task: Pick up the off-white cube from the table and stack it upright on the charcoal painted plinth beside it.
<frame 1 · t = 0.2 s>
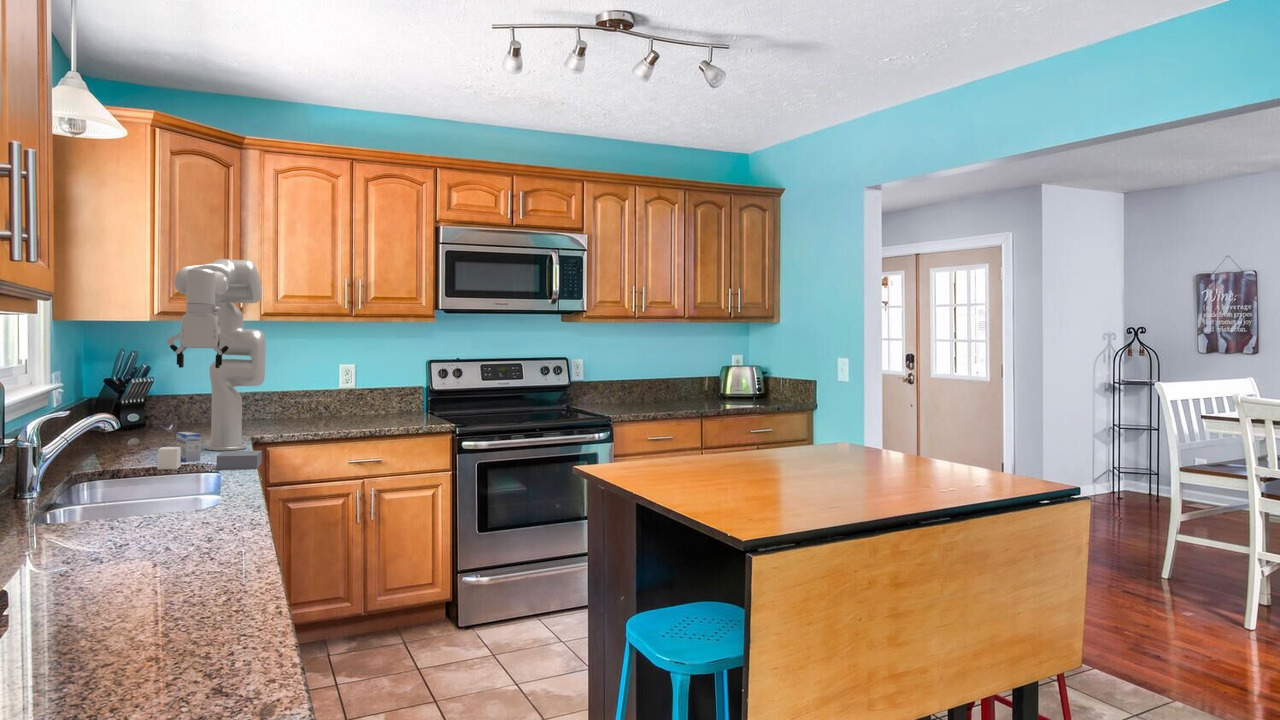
hand: (199, 367, 234), 30 cm above the countertop, tool pointing down, fingers open, 9 cm apart
plinth: (239, 466, 241), on the countertop
medicine box: (188, 460, 251), on the countertop
cube: (169, 468, 235), on the countertop
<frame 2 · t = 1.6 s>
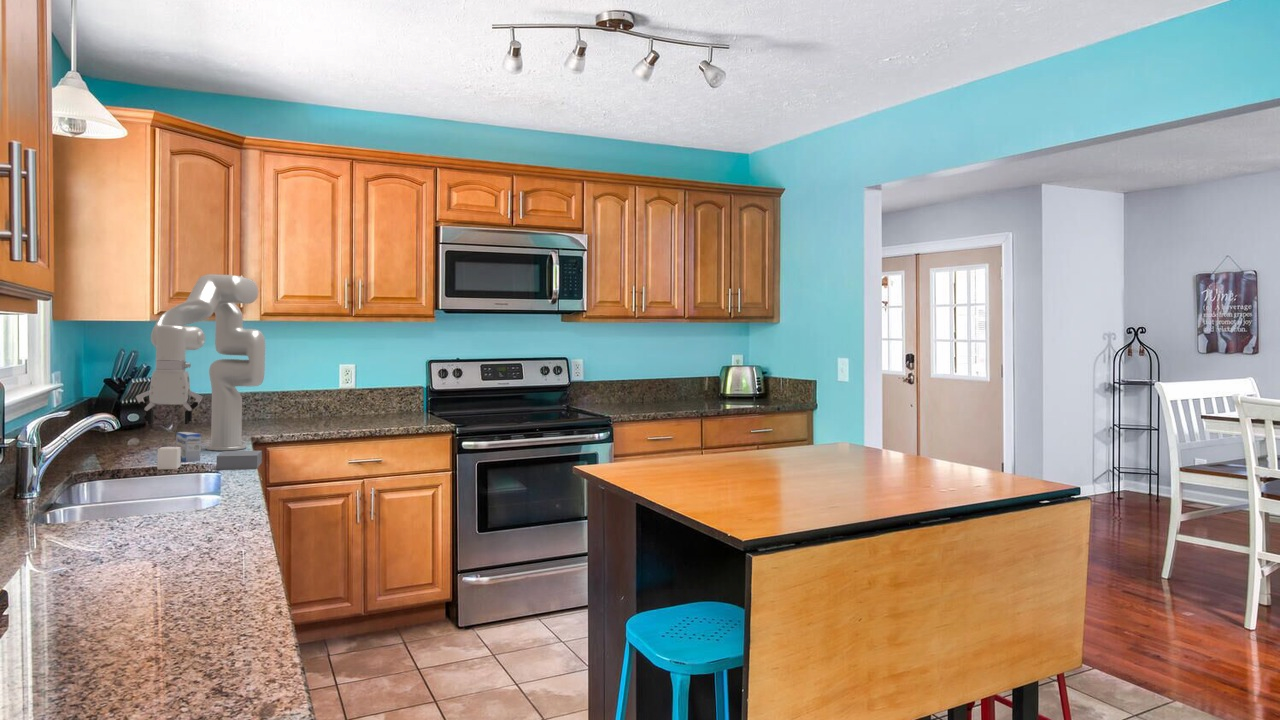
hand: (168, 423, 234), 13 cm above the countertop, tool pointing down, fingers open, 9 cm apart
nothing on the countertop moved.
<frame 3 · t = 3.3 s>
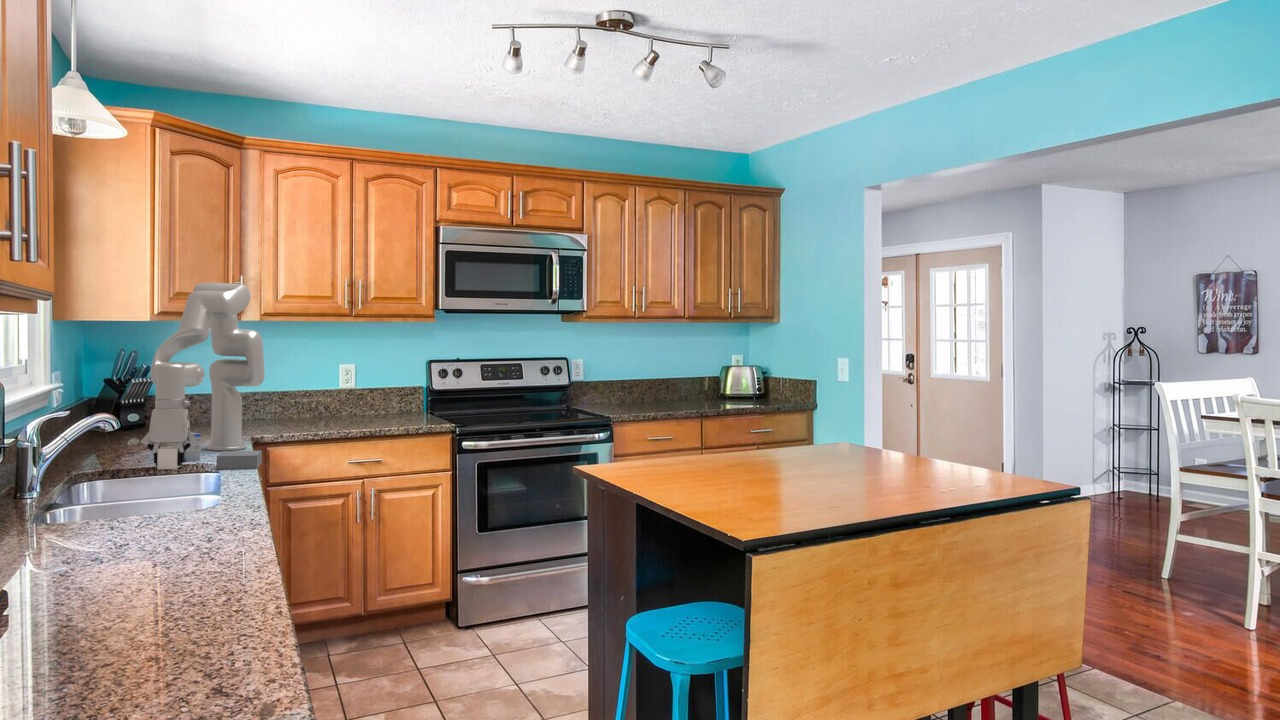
hand: (169, 464, 235), 1 cm above the countertop, tool pointing down, fingers closed on cube, 5 cm apart
cube: (169, 467, 235), on the countertop, touching gripper
everything else where it was.
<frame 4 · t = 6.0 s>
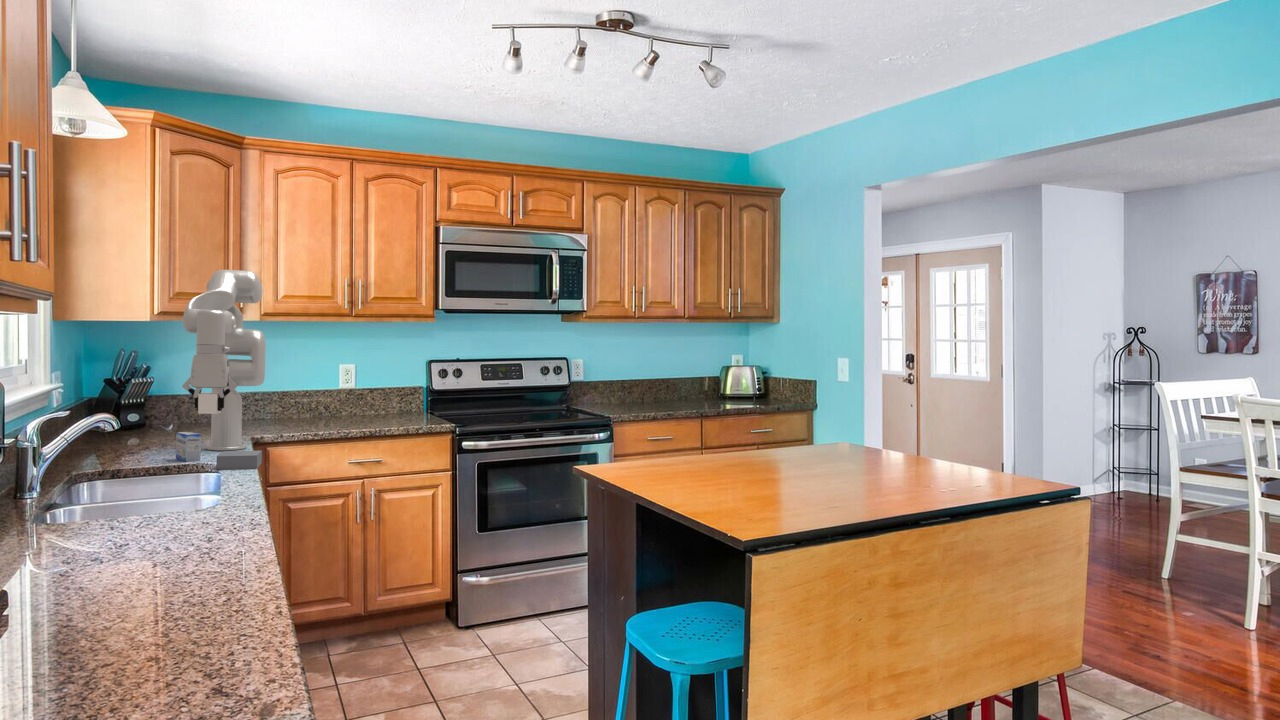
hand: (209, 410, 238), 17 cm above the countertop, tool pointing down, fingers closed on cube, 5 cm apart
cube: (209, 413, 238), point 16 cm above the countertop, touching gripper
everything else where it was.
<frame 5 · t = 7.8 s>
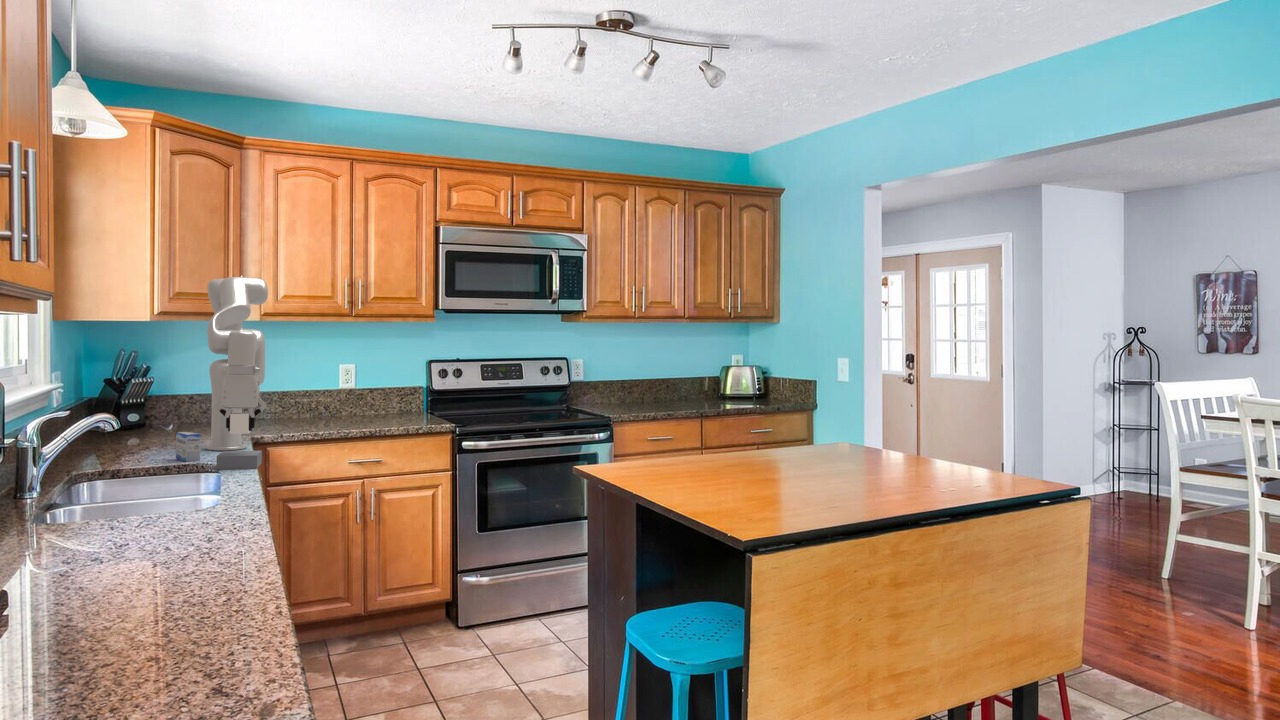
hand: (240, 429, 241), 11 cm above the countertop, tool pointing down, fingers closed on cube, 5 cm apart
cube: (240, 432, 241), point 10 cm above the countertop, touching gripper
everything else where it was.
when the fingers open (6 cm above the countertop, at t = 9.1 s): cube drops 1 cm, resting on plinth.
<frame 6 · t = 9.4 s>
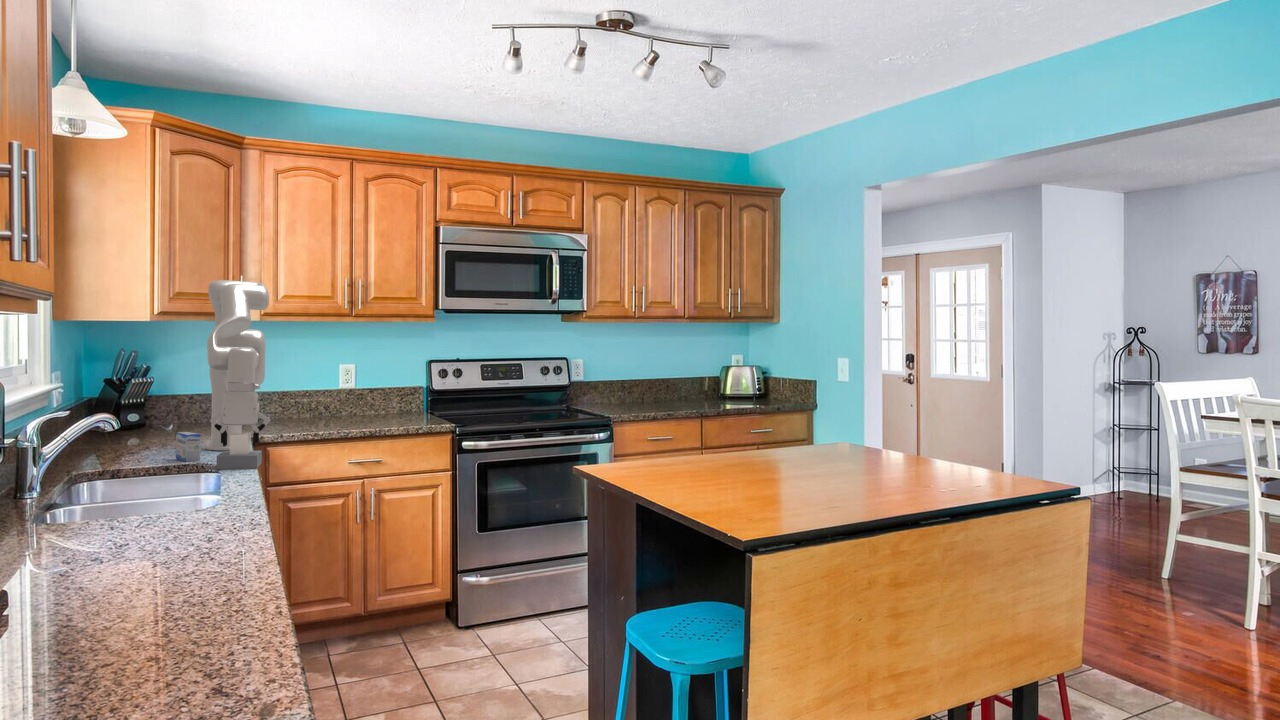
hand: (240, 445, 241), 7 cm above the countertop, tool pointing down, fingers open, 7 cm apart
cube: (240, 453, 241), point 4 cm above the countertop, touching plinth
everything else where it was.
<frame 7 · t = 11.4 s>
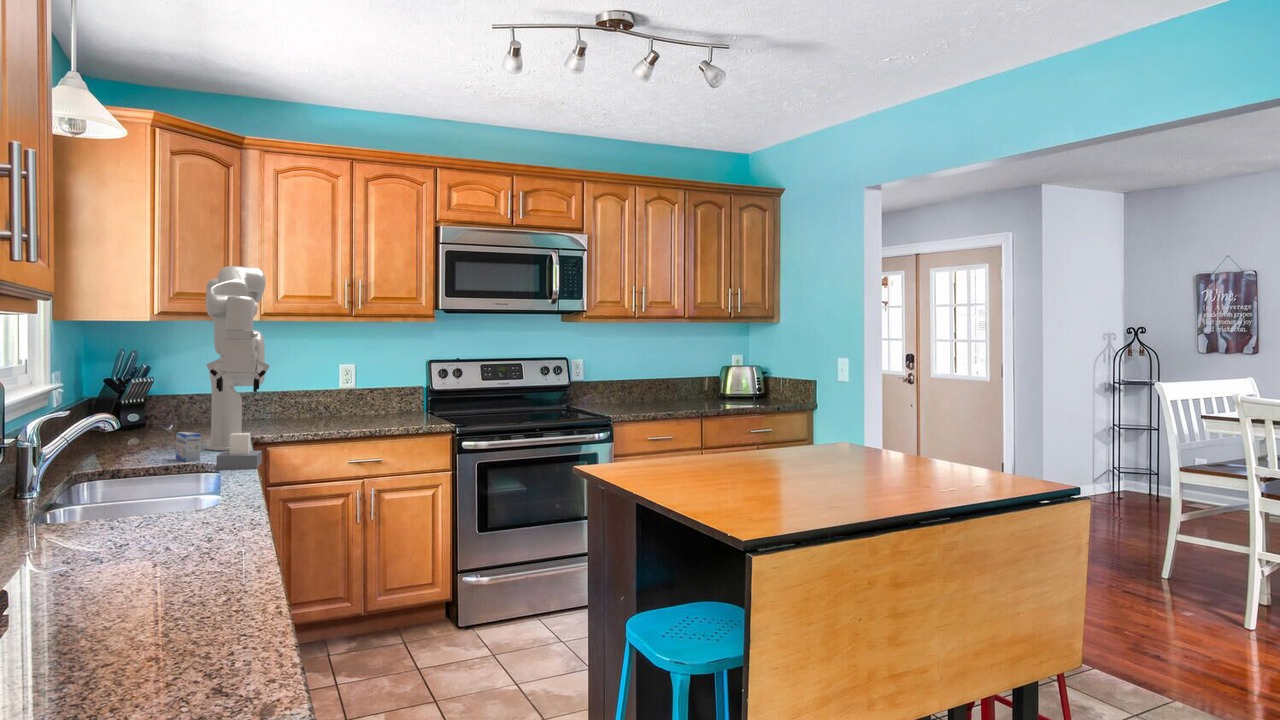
hand: (238, 391, 243), 23 cm above the countertop, tool pointing down, fingers open, 9 cm apart
nothing on the countertop moved.
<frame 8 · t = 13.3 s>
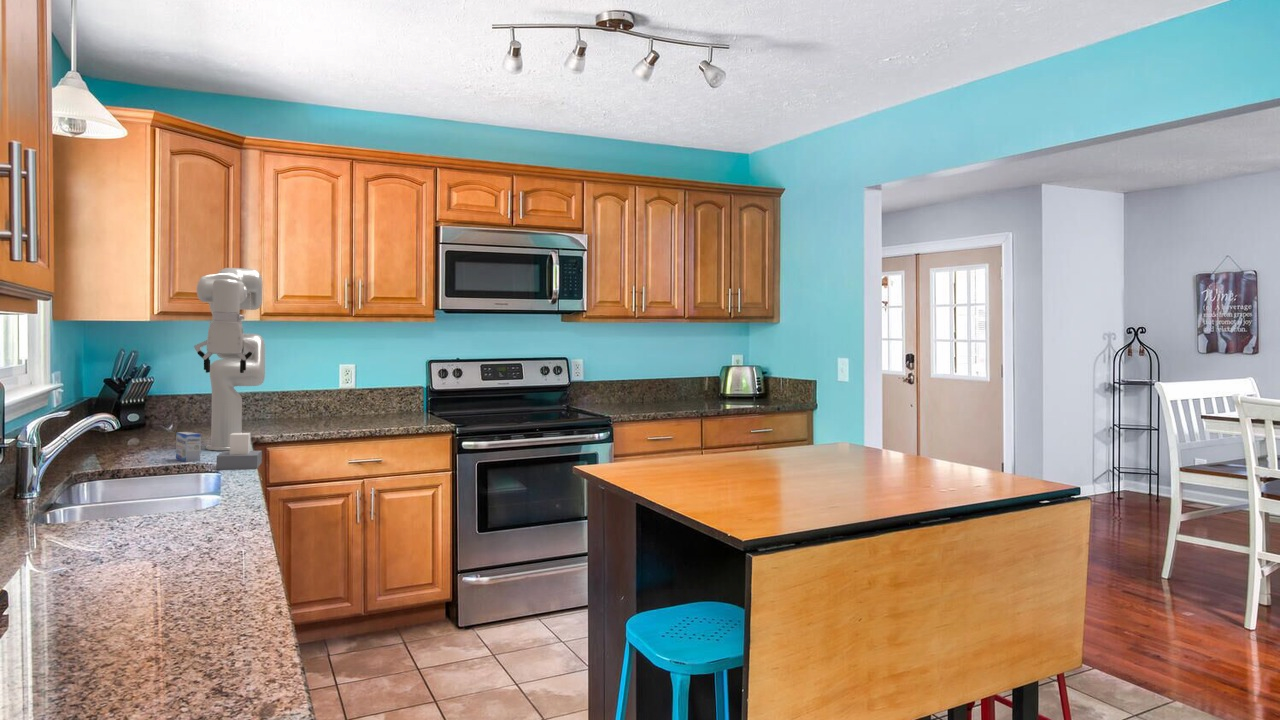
hand: (224, 372, 248), 28 cm above the countertop, tool pointing down, fingers open, 9 cm apart
nothing on the countertop moved.
at the end: cube inside the target area on the plinth (0.0 cm from its centre), point 4.0 cm above the plinth's base; cube tilted 0°; the gripper is holding nothing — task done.
